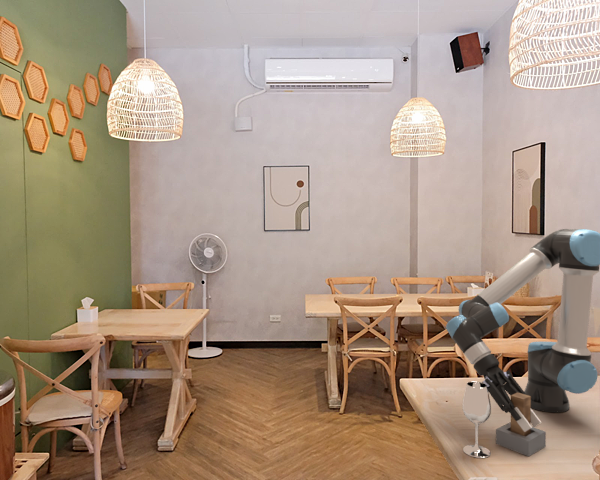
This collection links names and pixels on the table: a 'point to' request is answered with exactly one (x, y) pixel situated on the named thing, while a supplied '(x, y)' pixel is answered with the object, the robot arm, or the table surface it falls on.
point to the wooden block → (525, 408)
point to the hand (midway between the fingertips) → (533, 427)
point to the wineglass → (476, 414)
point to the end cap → (521, 440)
